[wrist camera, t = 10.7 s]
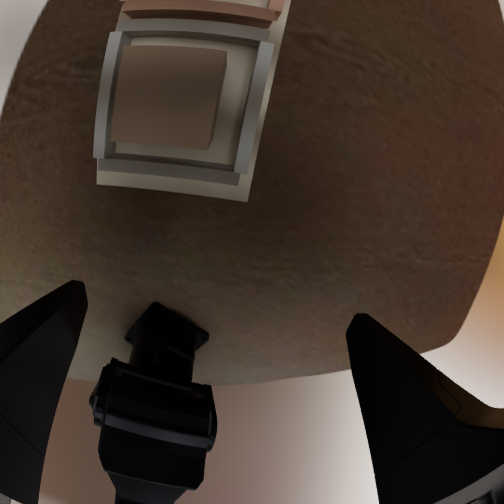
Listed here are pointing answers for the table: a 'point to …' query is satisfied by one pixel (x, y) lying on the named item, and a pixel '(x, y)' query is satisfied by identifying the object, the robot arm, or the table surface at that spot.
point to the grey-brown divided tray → (187, 94)
